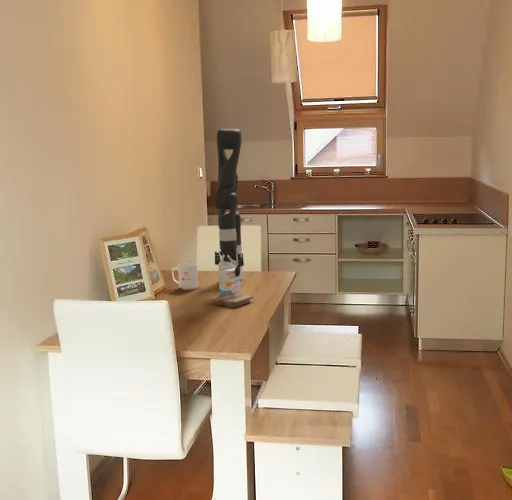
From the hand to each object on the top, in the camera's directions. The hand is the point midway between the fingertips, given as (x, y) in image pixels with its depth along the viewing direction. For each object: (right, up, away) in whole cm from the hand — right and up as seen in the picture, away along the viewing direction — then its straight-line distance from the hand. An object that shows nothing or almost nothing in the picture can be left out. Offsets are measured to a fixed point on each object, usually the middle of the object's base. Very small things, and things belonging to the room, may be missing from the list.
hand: (229, 275), depth 297 cm
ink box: (0, -9, +2) cm, 9 cm away
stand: (+2, -11, -13) cm, 17 cm away
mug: (-21, -7, +19) cm, 30 cm away
